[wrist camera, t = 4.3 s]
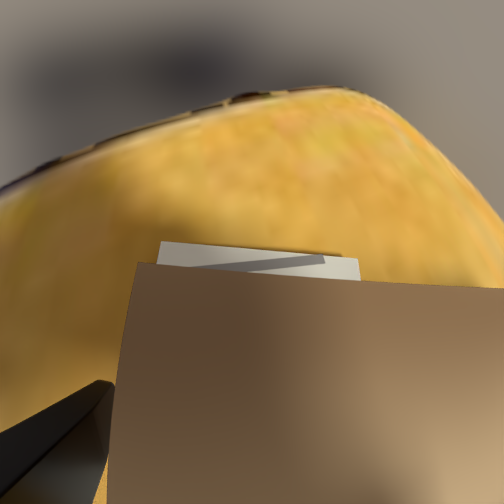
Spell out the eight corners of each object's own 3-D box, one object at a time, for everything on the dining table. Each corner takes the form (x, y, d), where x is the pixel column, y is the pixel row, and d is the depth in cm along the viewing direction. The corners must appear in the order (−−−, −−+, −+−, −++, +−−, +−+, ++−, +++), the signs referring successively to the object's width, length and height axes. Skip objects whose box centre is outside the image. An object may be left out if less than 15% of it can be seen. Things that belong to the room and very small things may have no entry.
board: (360, 540, 10) (368, 545, 9) (133, 541, 9) (128, 547, 8) (351, 266, 19) (357, 257, 18) (163, 249, 18) (161, 239, 17)
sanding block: (323, 474, 11) (527, 503, 2) (186, 472, 11) (109, 575, 2) (323, 392, 14) (507, 288, 4) (191, 387, 13) (138, 261, 4)
